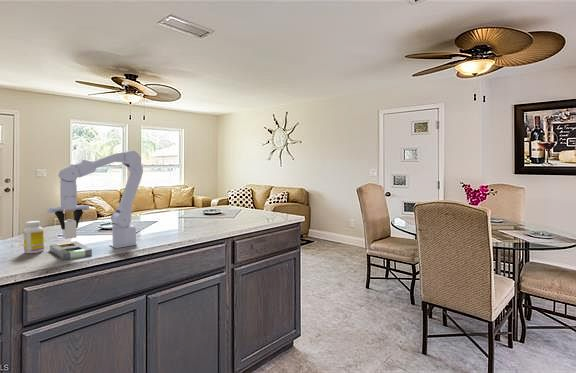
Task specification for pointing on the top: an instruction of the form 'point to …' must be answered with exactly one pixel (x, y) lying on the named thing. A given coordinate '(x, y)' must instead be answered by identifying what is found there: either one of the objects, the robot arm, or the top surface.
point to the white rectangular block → (69, 229)
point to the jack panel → (70, 250)
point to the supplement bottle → (33, 237)
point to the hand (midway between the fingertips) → (69, 228)
